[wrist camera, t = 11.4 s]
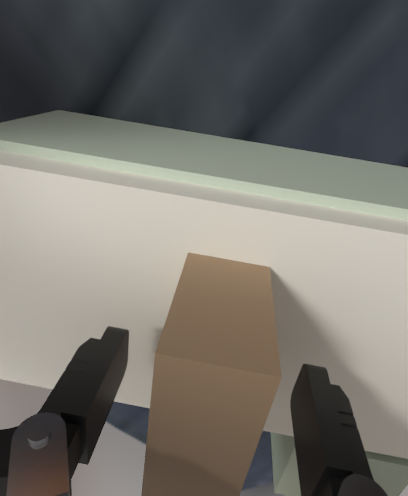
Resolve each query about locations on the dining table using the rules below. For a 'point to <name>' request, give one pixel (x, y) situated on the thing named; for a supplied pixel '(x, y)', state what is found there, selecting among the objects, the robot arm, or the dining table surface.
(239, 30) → the dining table surface
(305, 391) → the robot arm
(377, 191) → the light green open box
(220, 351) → the lid
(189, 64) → the dining table surface
